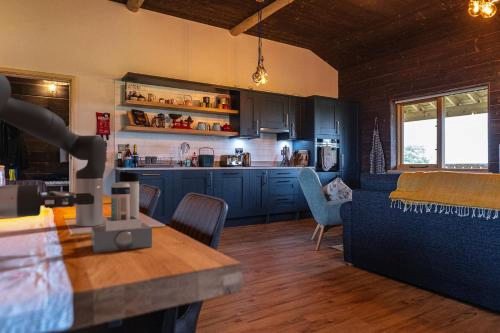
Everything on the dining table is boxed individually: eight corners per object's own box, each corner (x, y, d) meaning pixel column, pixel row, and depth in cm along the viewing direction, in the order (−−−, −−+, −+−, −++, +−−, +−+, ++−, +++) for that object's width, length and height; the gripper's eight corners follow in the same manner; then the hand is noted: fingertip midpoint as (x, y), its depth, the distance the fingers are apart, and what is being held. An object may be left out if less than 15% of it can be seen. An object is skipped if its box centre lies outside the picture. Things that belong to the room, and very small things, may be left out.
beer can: (133, 226, 92) (133, 182, 92) (125, 229, 87) (124, 183, 87) (116, 225, 93) (116, 182, 93) (107, 228, 88) (107, 183, 88)
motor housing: (91, 245, 91) (91, 217, 91) (143, 239, 98) (144, 214, 98) (94, 254, 81) (94, 223, 81) (152, 247, 88) (152, 219, 88)
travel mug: (113, 233, 108) (114, 171, 108) (126, 229, 114) (127, 171, 114) (130, 234, 106) (130, 171, 106) (142, 230, 112) (142, 171, 112)
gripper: (13, 186, 72) (95, 184, 80) (19, 183, 85) (90, 182, 93) (12, 220, 72) (94, 216, 80) (19, 213, 85) (90, 209, 93)
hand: (92, 198), depth 86 cm, fingers open, 8 cm apart
